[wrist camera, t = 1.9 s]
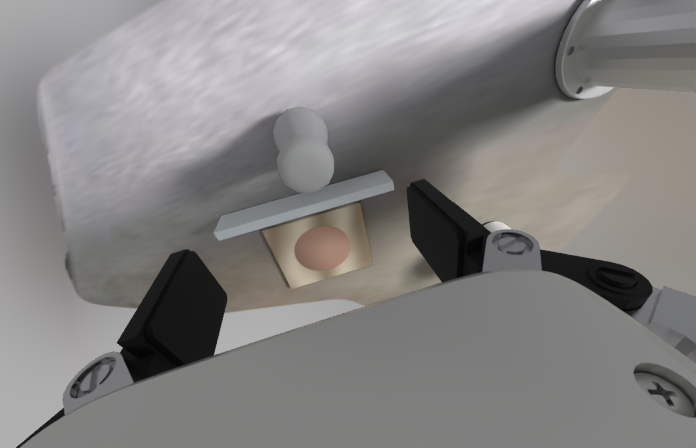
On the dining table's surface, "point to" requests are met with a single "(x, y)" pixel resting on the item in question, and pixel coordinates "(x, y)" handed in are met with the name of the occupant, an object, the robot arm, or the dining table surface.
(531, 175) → the dining table surface
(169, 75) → the dining table surface
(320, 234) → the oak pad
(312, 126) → the salt shaker
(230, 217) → the acrylic wall
